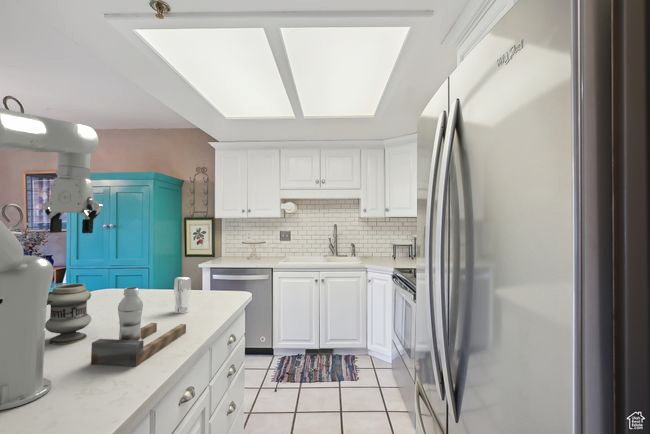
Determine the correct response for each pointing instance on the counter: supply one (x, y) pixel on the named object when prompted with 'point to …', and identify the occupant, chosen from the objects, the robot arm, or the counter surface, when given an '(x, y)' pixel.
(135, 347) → the guide track
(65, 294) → the apothecary jar
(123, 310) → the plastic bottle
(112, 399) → the counter surface
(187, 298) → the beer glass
